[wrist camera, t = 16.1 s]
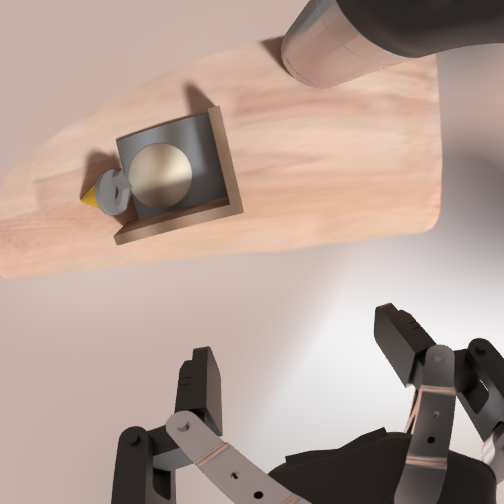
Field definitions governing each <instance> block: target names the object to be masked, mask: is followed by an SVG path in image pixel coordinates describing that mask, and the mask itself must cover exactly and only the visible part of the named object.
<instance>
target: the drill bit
mask: <svg viewBox="0 0 504 504" xmlns="http://www.w3.org/2000/svg"><path fill="white" fill-rule="evenodd" d="M130 188H133V186H132V185H131V183H130V182H129V180H128V178H127V177H126V175H125V174H124V172H123V170H116V169H112V170H108V171H105V172H103V173H102V174H101V175H100V176H99V177H98V178H97V181H96V183H95V185H94V186H93V187H92V188H91V189H90V190H89V191H88V192H87V193H86V194H85V196H84V197H83V198H82V199H81V202H83V203H86V204H89V205H91V206H94V207H97V208H99V209H101V211H102V212H104V213H105V214H107V215H117V214H121V213H123V212H124V211H125V210H126V209H127V207H128V205H129V202H130V197H131V191H130Z"/></svg>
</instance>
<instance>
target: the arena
mask: <svg viewBox="0 0 504 504" xmlns="http://www.w3.org/2000/svg"><path fill="white" fill-rule="evenodd" d="M208 112H209V113H205V114H201V115H198V116H194V117H190V118H186V119H183V120H179V121H176V122H172V123H169V124H166V125H162V126H159V127H156V128H153V129H150V130H147V131H144V132H141V133H138V134H135V135H132V136H129V137H126V138H124V139H121V140H118V141H117V145H118V149H119V153H120V157H121V161H122V164H123V168H124V172H125V175H126V177H127V178H128V180H129V182H130V183H131V185H132V186H133V188H130V191H131V196H132V199H133V203H134V206H135V209H136V212H137V216H138V219H139V220H136V221H132V222H129V223H126V224H125V225H124V226H123V227H122V228H121V229H120V230H119V231H118V232H117V233H116V234H115V235H114V239H115V242H116V244H117V245H121V244H125V243H128V242H132V241H135V240H139V239H142V238H146V237H150V236H153V235H157V234H161V233H165V232H168V231H172V230H176V229H180V228H184V227H188V226H192V225H195V224H199V223H203V222H207V221H211V220H216V219H220V218H224V217H228V216H232V215H236V214H241V213H244V211H243V206H242V202H241V198H240V193H239V189H238V185H237V180H236V176H235V171H234V167H233V163H232V158H231V154H230V150H229V145H228V141H227V137H226V132H225V128H224V124H223V119H222V115H221V111H220V106H215V107H211V108H208Z"/></svg>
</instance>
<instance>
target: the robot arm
mask: <svg viewBox="0 0 504 504" xmlns="http://www.w3.org/2000/svg"><path fill="white" fill-rule="evenodd" d="M491 43H504V0H310V1H309V2H308V4H307V5H306V7H305V8H304V9H303V10H302V12H301V13H300V15H299V16H298V18H297V19H296V20H295V22H294V23H293V24H292V26H291V27H290V29H289V30H288V32H287V33H286V35H285V36H284V38H283V40H282V43H281V49H280V51H281V58H282V61H283V64H284V65H285V67H286V69H287V70H288V71H289V72H290V74H291V75H292V76H293V77H295V78H296V79H297V80H298V81H300V82H302V83H304V84H306V85H308V86H311V87H315V88H330V87H333V86H337V85H339V84H342V83H344V82H347V81H350V80H352V79H355V78H358V77H361V76H363V75H366V74H369V73H372V72H375V71H377V70H380V69H383V68H386V67H389V66H393V65H396V64H399V63H402V62H405V61H408V60H412V59H415V58H420V57H424V56H427V55H431V54H434V53H437V52H441V51H445V50H449V49H454V48H459V47H465V46H471V45H480V44H491ZM374 337H375V340H376V342H377V344H378V345H379V347H380V348H381V350H382V352H383V353H384V355H385V356H386V358H387V359H388V361H389V362H390V364H391V365H392V367H393V368H394V370H395V372H396V373H397V375H398V376H399V378H400V380H401V381H402V383H403V384H404V386H405V388H407V387H409V386H411V385H414V386H415V388H416V389H415V392H414V396H413V401H412V405H411V410H410V414H409V418H408V422H407V425H406V428H405V431H404V433H402V432H386V430H385V428H384V427H383V428H380V429H378V430H375V431H373V432H370V433H367V434H364V435H361V436H360V437H358V438H357V439H355V440H353V441H351V442H350V443H348V444H346V445H344V446H343V447H341V448H339V449H333V450H315V451H307V452H303V453H299V454H294V455H290V456H286V457H285V459H286V463H283V464H281V465H279V466H278V467H276V468H274V469H273V470H272V471H270V472H269V473H268V474H266V473H264V472H263V471H262V470H261V469H259V468H258V467H257V466H256V465H254V464H253V463H252V462H251V461H249V460H248V459H247V458H246V457H244V456H243V455H242V454H241V453H240V452H238V451H237V450H236V449H235V448H234V447H233V446H231V445H230V444H229V443H227V442H226V443H225V442H224V441H222V440H221V439H220V438H219V437H218V436H222V435H223V432H222V407H221V406H222V405H221V377H220V372H219V368H218V366H217V363H216V361H215V358H214V356H213V353H212V350H211V348H210V347H202V348H196V349H194V350H193V358H192V360H188V361H185V362H184V363H183V365H182V367H181V368H180V372H179V380H178V388H177V396H176V404H175V405H176V406H175V412H174V414H173V415H172V416H171V417H170V418H169V419H168V420H167V422H166V424H165V425H164V426H161V427H159V428H156V429H153V430H150V431H146V430H145V429H144V428H142V427H138V426H134V427H130V428H128V429H126V430H125V431H123V432H122V434H121V436H120V438H119V442H118V449H117V457H116V463H115V471H114V480H113V490H112V500H111V504H176V486H175V485H176V484H175V469H178V468H181V467H184V466H187V465H190V464H193V463H194V464H195V465H196V466H197V467H198V468H199V469H200V470H201V471H202V472H203V473H204V474H205V475H206V476H207V477H208V478H209V480H210V481H212V483H214V484H215V485H216V486H217V487H218V488H219V489H220V490H221V491H222V492H223V493H224V494H225V495H226V496H227V497H228V498H229V499H231V500H232V501H233V502H234V503H235V504H496V487H497V484H499V483H500V482H502V481H503V480H504V358H503V357H502V356H501V355H500V353H499V352H498V351H497V350H496V349H495V348H494V346H493V345H492V344H491V343H490V342H489V341H487V340H486V339H482V338H476V339H473V340H472V341H471V342H470V343H469V346H468V348H467V349H462V350H456V351H452V349H451V348H449V347H448V346H445V345H437V344H436V343H435V342H434V341H433V339H432V338H431V337H430V336H429V335H428V334H427V332H426V331H425V330H424V329H423V328H422V327H421V326H420V324H419V323H418V322H416V320H415V319H414V318H413V317H412V315H411V314H409V313H407V312H405V311H404V310H399V311H398V310H397V309H396V308H395V306H394V305H393V304H392V303H388V304H385V305H382V306H378V307H376V310H375V322H374ZM480 380H481V381H482V382H483V383H482V382H481V381H480ZM483 384H484V385H485V386H486V388H487V389H488V391H487V389H486V388H485V386H484V385H483ZM456 396H457V397H458V399H459V400H460V402H461V404H462V406H463V407H464V409H465V411H466V412H467V414H468V416H469V417H470V419H471V421H472V422H473V424H474V426H475V428H476V430H477V431H478V433H479V435H480V437H481V439H482V440H483V442H484V444H483V447H482V460H483V461H480V460H477V459H474V458H471V457H468V456H465V455H462V454H459V453H457V452H454V451H451V450H449V445H450V439H451V433H452V426H453V419H454V410H455V401H456Z"/></svg>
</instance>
